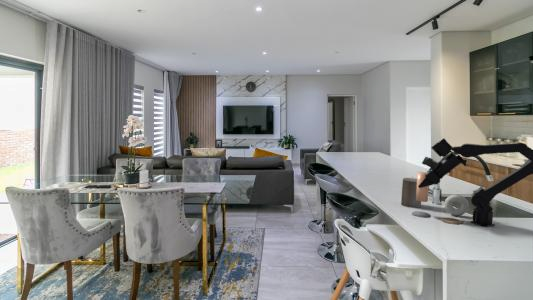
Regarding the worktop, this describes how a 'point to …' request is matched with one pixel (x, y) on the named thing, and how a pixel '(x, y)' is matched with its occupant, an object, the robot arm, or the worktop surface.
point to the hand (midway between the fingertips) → (419, 186)
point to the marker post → (421, 192)
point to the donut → (456, 211)
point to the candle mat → (420, 214)
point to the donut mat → (451, 220)
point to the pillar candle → (409, 193)
